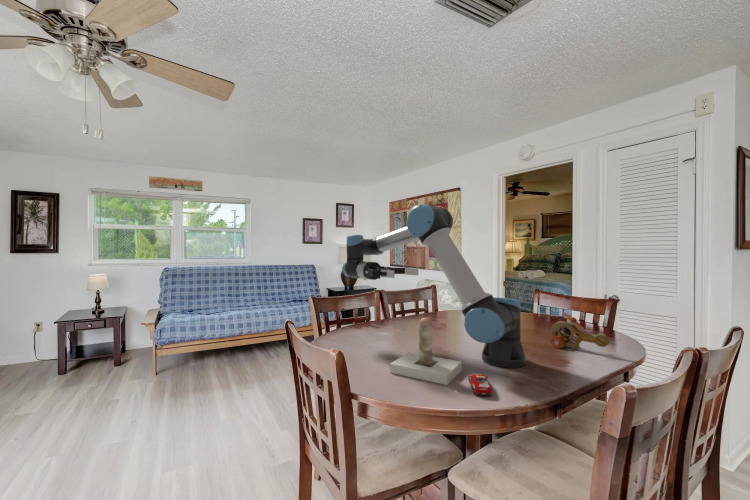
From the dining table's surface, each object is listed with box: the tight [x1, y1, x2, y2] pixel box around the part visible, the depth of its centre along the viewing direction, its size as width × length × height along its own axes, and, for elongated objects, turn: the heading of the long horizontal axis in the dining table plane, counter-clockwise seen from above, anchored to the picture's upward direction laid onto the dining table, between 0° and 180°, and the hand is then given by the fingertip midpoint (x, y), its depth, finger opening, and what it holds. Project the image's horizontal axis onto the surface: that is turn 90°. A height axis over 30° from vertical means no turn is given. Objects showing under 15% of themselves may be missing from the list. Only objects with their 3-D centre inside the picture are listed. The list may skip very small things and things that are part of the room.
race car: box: [468, 372, 493, 397], centre depth 101 cm, size 13×5×4 cm, turn 171°
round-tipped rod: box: [418, 317, 433, 367], centre depth 114 cm, size 4×4×18 cm
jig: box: [389, 351, 463, 386], centre depth 114 cm, size 20×14×3 cm
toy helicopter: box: [550, 312, 611, 351], centre depth 134 cm, size 8×21×14 cm, turn 37°
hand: (406, 273), depth 130 cm, fingers open, 13 cm apart
